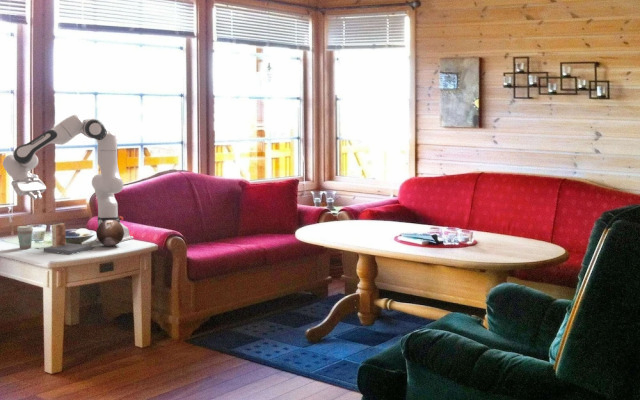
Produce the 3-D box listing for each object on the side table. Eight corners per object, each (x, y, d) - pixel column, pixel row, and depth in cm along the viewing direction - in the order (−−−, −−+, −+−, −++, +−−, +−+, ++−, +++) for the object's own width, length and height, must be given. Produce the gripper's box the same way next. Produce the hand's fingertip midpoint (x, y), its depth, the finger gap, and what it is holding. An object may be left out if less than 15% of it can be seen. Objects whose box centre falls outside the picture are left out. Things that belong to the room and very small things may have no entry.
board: (65, 246, 457) (65, 242, 456) (92, 249, 450) (92, 245, 450) (43, 251, 440) (43, 248, 440) (70, 254, 433) (70, 250, 433)
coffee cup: (19, 250, 444) (19, 228, 442) (15, 247, 451) (14, 226, 449) (35, 248, 449) (35, 227, 448) (31, 246, 456) (30, 225, 454)
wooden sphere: (98, 249, 450) (97, 222, 448) (95, 244, 464) (94, 218, 462) (126, 247, 456) (125, 221, 454) (122, 243, 469) (121, 217, 468)
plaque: (62, 244, 451) (61, 223, 450) (66, 244, 450) (65, 223, 449) (52, 246, 444) (51, 225, 442) (56, 247, 443) (55, 225, 441)
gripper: (13, 177, 441) (27, 196, 438) (39, 174, 460) (53, 193, 457) (6, 185, 443) (21, 204, 440) (33, 182, 462) (47, 200, 459)
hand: (38, 198), depth 449 cm, fingers open, 2 cm apart
